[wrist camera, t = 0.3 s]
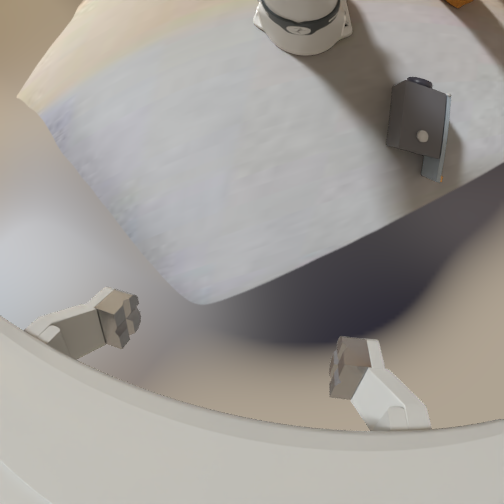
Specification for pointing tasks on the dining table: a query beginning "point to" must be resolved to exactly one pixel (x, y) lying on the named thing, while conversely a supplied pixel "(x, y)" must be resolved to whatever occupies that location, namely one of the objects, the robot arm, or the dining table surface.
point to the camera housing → (416, 117)
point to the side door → (433, 165)
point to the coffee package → (458, 2)
